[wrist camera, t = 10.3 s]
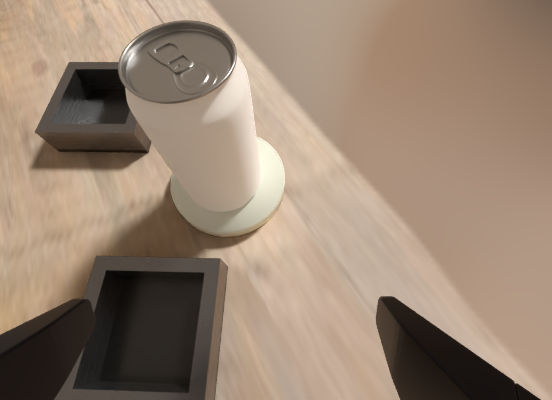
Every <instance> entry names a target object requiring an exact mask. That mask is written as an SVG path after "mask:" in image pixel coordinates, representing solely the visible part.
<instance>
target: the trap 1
mask: <svg viewBox="0 0 552 400" xmlns="http://www.w3.org/2000/svg"><path fill="white" fill-rule="evenodd" d="M118 64H119V62H69V63H68V65H67V68H66V70H65V72H64V74H63V76H62V78H61V80H60V82H59V84H58V86H57V88H56V90H55V92H54V94H53V96H52V98H51V100H50V102H49V104H48V106H47V108H46V110H45V112H44V114H43V116H42V118H41V120H40V123H39V125H38V127H37V129H36V131H35V133H37V134H38V135H39V136H40V137H42V138H43V139H44V140H46V141H47V142H48V143H49V144H51V145H52V146H53V147H54V148H56V149H57V150H58V151H65V152H149V148H150V145H151V141H150V139H149V138H148V136H147V135H146V133H145V132H144V130H143V129H142V127H141V126H140V124H139V123H138V121H137V120H136V118H135V117H134V115H133V114H132V112H131V110H130V108H129V106H128V103H127V98H126V90H125V86H124V85H123V83H122V81H121V79H120V77H119V73H118Z"/></svg>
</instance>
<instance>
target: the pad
mask: <svg viewBox="0 0 552 400" xmlns="http://www.w3.org/2000/svg"><path fill="white" fill-rule="evenodd" d="M256 137H257V136H256ZM257 145H258V153H259V161H260V170H261V181H260V185H259V188H258V190H257V192H256V193H255V195H254V196H253V197H252V198H251V199H250V200H249V201H248V202H247V203H246V204H245V205H243V206H242V207H240V208H238V209H235V210H231V211H226V212H214V211H209V210H206V209H204V208H202V207H200V206H199V205H197V204H196V203H195V202H194V201H193V200H192V199H191V197H190V196H189V195H188V193H187V192H186V191H185V189H184V188H183V186H182V185H181V184H180V182H179V181H178V179H177V178H176V176H175V175H174V174H173V172H172V176H171V182H170V190H171V196H172V199H173V202H174V204H175V206H176V208H177V209H178V211H179V212H180V213H181V214H182V216H183V217H184V218H185V219H186V220H187V221H188V222H189V223H190V224H191V225H192V226H194V227H195V228H196V229H198V230H200V231H202V232H204V233H206V234H209V235H213V236H218V237H234V236H240V235H244V234H247V233H249V232H252V231H254V230H256V229H258V228H259V227H261V226H262V225H264V224H265V223H266V222H267V221H268V220H269V219H270V218H271V217H272V216H273V215H274V214H275V212H276V211H277V209H278V207H279V206H280V204H281V201H282V199H283V194H284V187H285V174H284V167H283V164H282V161H281V159H280V157H279V155H278V153H277V152H276V151H275V149H274V148H273V147H272V146H271V145H270V144H268V143H267V142H266V141H264V140H263V139H261V138H259V137H257Z"/></svg>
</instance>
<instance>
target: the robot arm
mask: <svg viewBox="0 0 552 400" xmlns="http://www.w3.org/2000/svg"><path fill="white" fill-rule="evenodd" d="M95 323H96V319H95V315H94V312H93V308H92V305H91V302H90V300H89V299H86V298H77V299H72V300H70V301H68V302H66V303H64V304H62V305H60V306H58V307H56V308H54V309H52V310H50V311H48V312H46V313H44V314H42V315H40V316H38V317H35V318H33V319H31V320H29V321H27V322H25V323H23V324H21V325H19V326H17V327H15V328H13V329H11V330H9V331H7V332H5V333H3V334H1V335H0V400H54V399H55V398H56V396H57V395H58V393H59V391H60V390H61V388H62V387H63V385H64V383H65V382H66V380H67V378H68V377H69V375H70V373H71V371H72V369H73V368H74V366H75V364H76V362H77V360H78V358H79V356H80V354H81V352H82V350H83V348H84V347H85V345H86V343H87V341H88V339H89V337H90V335H91V333H92V331H93V329H94V327H95ZM376 325H377V329H378V332H379V336H380V339H381V343H382V346H383V350H384V353H385V357H386V360H387V364H388V367H389V370H390V374H391V377H392V379H393V382H394V385H395V387H396V390H397V392H398V395H399V397H400V400H541V399H539V398H538V397H536V396H535V395H533V394H532V393H530V392H529V391H528V390H526V389H525V388H523V387H522V386H520V385H519V384H517V383H516V384H515V383H514V381H513V380H512V379H510V378H509V377H507V376H506V375H505V374H503V373H502V372H500V371H499V370H497V369H496V368H495V367H493V366H492V365H490V364H489V363H487V362H486V361H485V360H483V359H482V358H480V357H479V356H477V355H476V354H475V353H473V352H472V351H470V350H469V349H467V348H466V347H465V346H463V345H462V344H460V343H459V342H458V341H456V340H455V339H453V338H452V337H450V336H449V335H448V334H446V333H445V332H443V331H442V330H440V329H439V328H438V327H436V326H435V325H433V324H432V323H430V322H429V321H428V320H426V319H425V318H423V317H422V316H420V315H419V314H418V313H416V312H415V311H413V310H412V309H410V308H409V307H408V306H406V305H405V304H403V303H402V302H400V301H399V300H398V299H396V298H395V297H392V296H381V297H380V298H379V300H378V306H377V314H376Z"/></svg>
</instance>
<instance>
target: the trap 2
mask: <svg viewBox="0 0 552 400" xmlns="http://www.w3.org/2000/svg"><path fill="white" fill-rule="evenodd" d="M227 271H228V266H227V265H226V264H225V263H224V262H223V261H222V260H221V259H218V258H173V257H128V256H96V259H95V262H94V265H93V269H92V272H91V275H90V278H89V282H88V285H87V288H86V292H85V295H84V298H86V299H89V300H90V302H91V305H92V308H93V312H94V315H95V319H96V323H95V327H94V329H93V331H92V333H91V335H90V337H89V339H88V341H87V343H86V345H85V347H84V348H83V350H82V352H81V354H80V356H79V358H78V360H77V362H76V364H75V366H74V368H73V369H72V371H71V373H70V375H69V377H68V378H67V380H66V382H65V383H64V385H63V387H62V388H61V390H60V391H59V393H58V395H57V396H56V398H55V399H54V400H215V392H216V382H217V372H218V362H219V352H220V342H221V332H222V321H223V311H224V301H225V291H226V281H227Z"/></svg>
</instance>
